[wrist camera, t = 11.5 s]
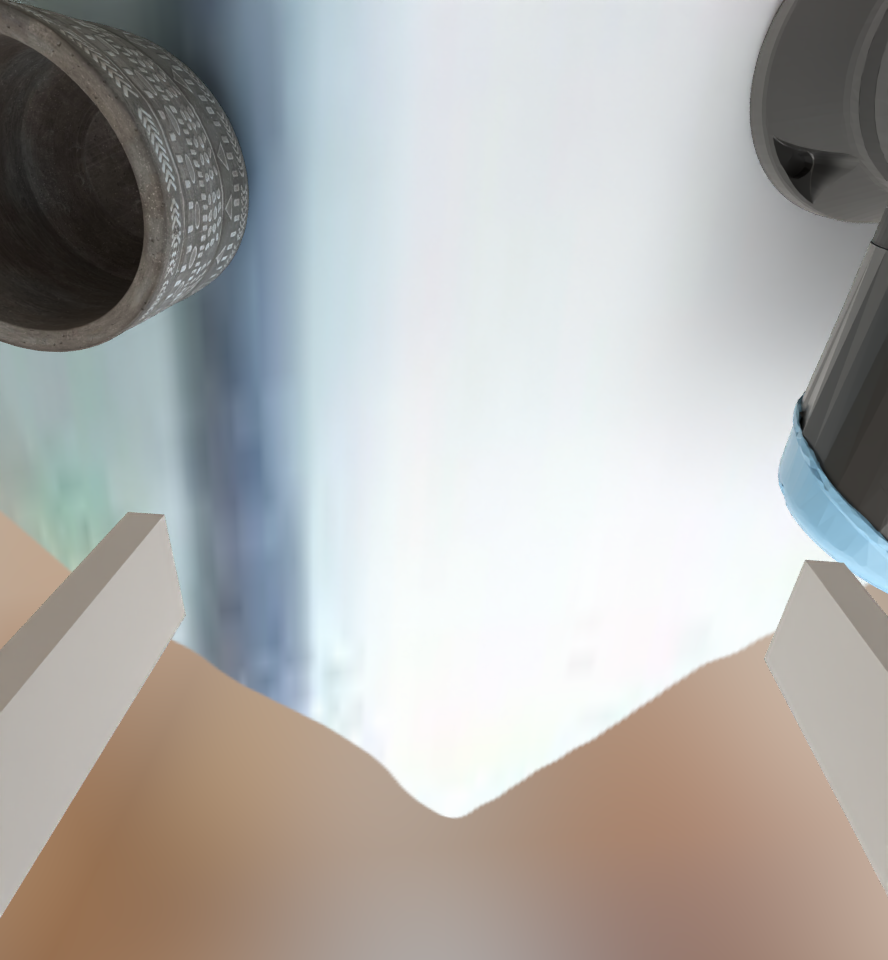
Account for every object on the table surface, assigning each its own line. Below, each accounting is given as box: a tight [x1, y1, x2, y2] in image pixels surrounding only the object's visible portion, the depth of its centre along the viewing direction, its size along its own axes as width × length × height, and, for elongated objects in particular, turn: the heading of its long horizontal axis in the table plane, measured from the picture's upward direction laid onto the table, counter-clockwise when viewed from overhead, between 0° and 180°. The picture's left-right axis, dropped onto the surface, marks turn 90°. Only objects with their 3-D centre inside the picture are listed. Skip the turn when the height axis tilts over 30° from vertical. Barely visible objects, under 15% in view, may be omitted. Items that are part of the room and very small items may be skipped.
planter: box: [0, 0, 249, 352], centre depth 33 cm, size 14×14×15 cm
